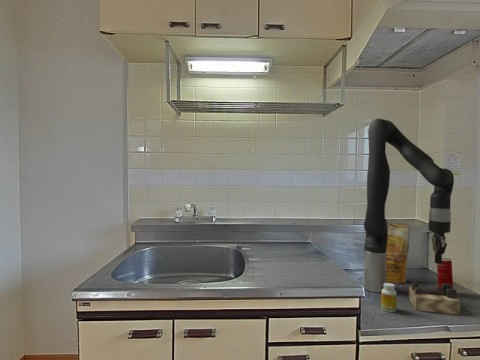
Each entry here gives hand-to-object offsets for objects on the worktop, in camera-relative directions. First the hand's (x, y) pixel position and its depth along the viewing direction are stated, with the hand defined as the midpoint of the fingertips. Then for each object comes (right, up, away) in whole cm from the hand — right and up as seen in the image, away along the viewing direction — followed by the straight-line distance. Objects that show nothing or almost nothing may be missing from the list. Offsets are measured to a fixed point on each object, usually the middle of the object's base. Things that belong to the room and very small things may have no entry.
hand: (438, 263), depth 143 cm
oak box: (-2, -17, +1) cm, 17 cm away
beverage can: (+11, -17, +15) cm, 25 cm away
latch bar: (-2, -11, +1) cm, 12 cm away
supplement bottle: (-21, -17, -3) cm, 27 cm away
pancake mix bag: (-7, -16, +32) cm, 37 cm away
